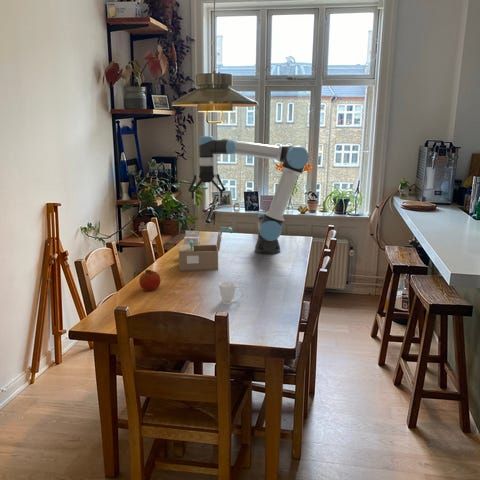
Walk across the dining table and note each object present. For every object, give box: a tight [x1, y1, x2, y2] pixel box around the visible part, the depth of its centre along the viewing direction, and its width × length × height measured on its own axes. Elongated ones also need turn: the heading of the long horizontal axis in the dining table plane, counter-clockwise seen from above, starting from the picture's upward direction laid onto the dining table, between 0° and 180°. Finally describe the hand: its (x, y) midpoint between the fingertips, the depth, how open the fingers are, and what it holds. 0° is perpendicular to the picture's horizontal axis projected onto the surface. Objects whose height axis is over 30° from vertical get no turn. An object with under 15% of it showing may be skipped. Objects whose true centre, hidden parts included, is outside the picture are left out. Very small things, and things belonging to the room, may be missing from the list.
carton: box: [178, 244, 219, 272], centre depth 246 cm, size 20×14×10 cm
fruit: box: [138, 269, 161, 292], centre depth 212 cm, size 10×10×10 cm
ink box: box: [183, 230, 201, 245], centre depth 265 cm, size 9×5×15 cm, turn 84°
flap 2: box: [215, 226, 234, 252], centre depth 246 cm, size 11×14×7 cm
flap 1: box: [178, 240, 194, 253], centre depth 244 cm, size 8×14×5 cm, turn 7°
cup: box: [218, 281, 244, 305], centre depth 197 cm, size 7×10×8 cm
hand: (207, 204), depth 257 cm, fingers open, 13 cm apart
